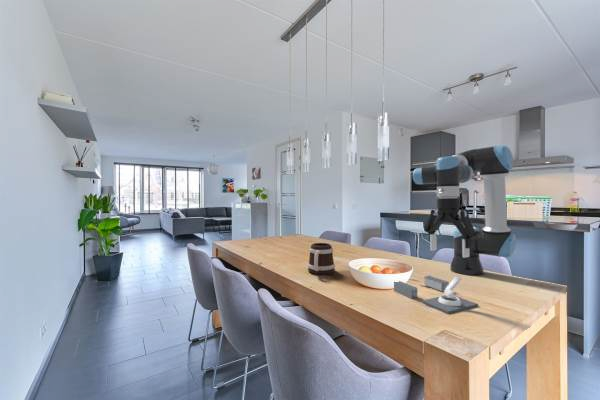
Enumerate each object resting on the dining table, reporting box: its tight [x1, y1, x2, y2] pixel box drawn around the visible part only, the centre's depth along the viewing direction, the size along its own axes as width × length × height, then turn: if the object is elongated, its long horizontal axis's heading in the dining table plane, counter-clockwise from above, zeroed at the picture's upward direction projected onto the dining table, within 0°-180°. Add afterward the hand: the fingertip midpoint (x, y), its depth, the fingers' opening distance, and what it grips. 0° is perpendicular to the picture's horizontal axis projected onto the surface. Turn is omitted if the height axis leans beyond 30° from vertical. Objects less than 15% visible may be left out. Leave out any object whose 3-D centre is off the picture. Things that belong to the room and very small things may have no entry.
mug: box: [307, 242, 336, 276], centre depth 146 cm, size 20×15×15 cm
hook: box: [438, 275, 462, 306], centre depth 101 cm, size 8×12×7 cm
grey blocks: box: [393, 275, 450, 300], centre depth 116 cm, size 21×10×4 cm, turn 113°
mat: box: [421, 294, 479, 315], centre depth 101 cm, size 16×11×1 cm
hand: (448, 253), depth 102 cm, fingers open, 13 cm apart
